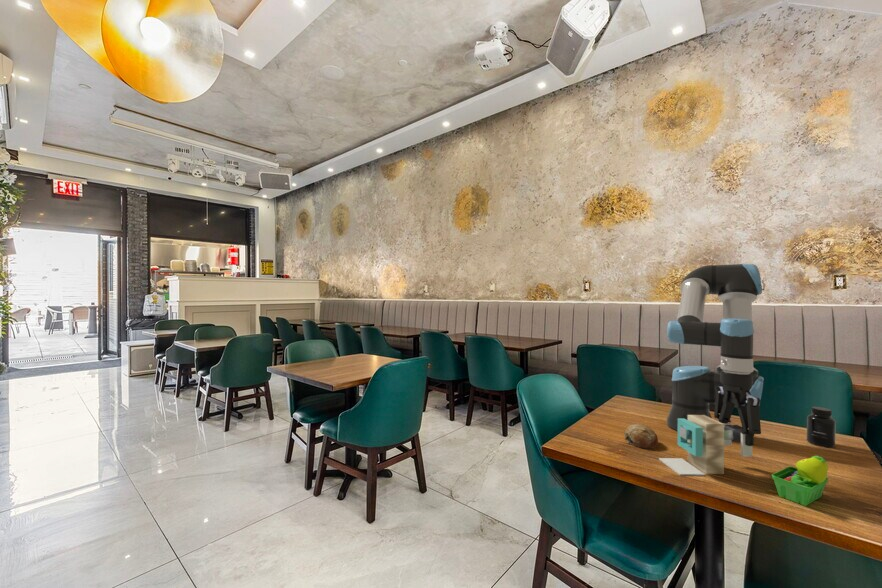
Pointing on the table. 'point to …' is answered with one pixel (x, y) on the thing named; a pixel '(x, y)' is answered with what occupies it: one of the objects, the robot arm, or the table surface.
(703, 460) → the light wood tall block
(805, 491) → the fruit basket
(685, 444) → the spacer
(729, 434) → the shaft
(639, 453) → the table surface
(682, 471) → the mat
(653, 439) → the brown rounded lump
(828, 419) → the supplement bottle
